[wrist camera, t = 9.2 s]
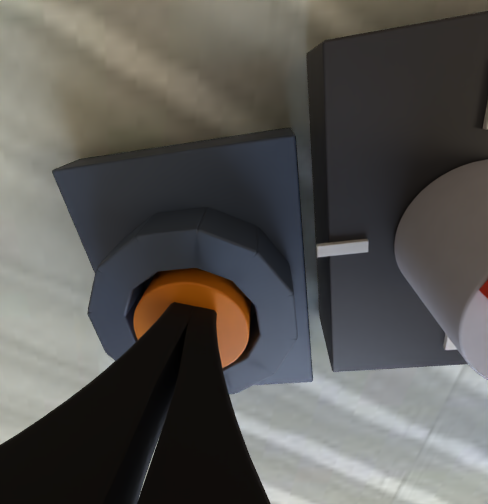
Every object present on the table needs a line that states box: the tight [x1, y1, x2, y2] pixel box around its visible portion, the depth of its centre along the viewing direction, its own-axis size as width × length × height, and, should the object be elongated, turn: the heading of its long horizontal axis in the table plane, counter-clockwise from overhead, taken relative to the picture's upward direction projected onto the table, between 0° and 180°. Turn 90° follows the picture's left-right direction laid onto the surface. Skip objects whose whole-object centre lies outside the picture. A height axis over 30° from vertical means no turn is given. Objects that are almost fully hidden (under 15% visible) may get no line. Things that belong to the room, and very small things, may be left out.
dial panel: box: [307, 11, 488, 372], centre depth 10 cm, size 10×8×3 cm
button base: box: [52, 128, 313, 394], centre depth 12 cm, size 10×8×4 cm
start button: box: [133, 268, 251, 368], centre depth 11 cm, size 4×4×2 cm
